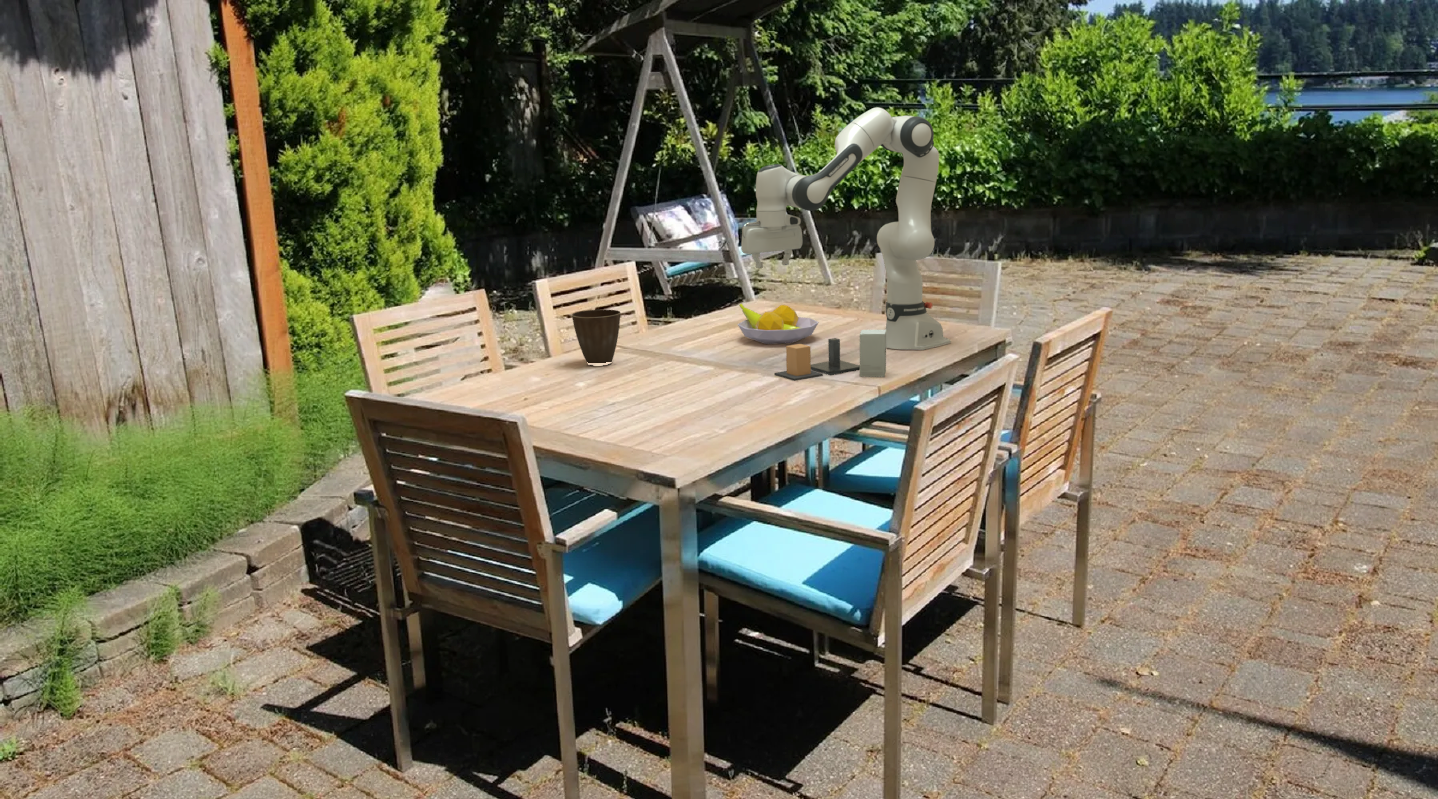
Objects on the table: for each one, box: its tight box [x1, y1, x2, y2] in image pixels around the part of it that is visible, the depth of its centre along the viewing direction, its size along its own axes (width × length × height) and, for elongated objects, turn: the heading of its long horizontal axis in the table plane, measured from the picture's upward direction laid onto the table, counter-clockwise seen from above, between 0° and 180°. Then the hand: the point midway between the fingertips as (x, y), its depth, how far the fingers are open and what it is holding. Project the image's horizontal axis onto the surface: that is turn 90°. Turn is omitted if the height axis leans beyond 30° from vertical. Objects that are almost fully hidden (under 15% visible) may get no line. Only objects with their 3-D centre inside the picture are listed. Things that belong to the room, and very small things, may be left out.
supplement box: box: [859, 329, 887, 378], centre depth 346 cm, size 7×7×13 cm
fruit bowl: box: [737, 303, 820, 345], centre depth 402 cm, size 28×27×11 cm
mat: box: [774, 370, 824, 382], centre depth 349 cm, size 10×10×1 cm
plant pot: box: [571, 309, 621, 363], centre depth 372 cm, size 15×15×16 cm
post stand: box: [811, 337, 860, 376], centre depth 355 cm, size 12×12×9 cm
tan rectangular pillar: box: [785, 343, 812, 376], centre depth 348 cm, size 5×5×8 cm
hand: (772, 266), depth 363 cm, fingers open, 8 cm apart
